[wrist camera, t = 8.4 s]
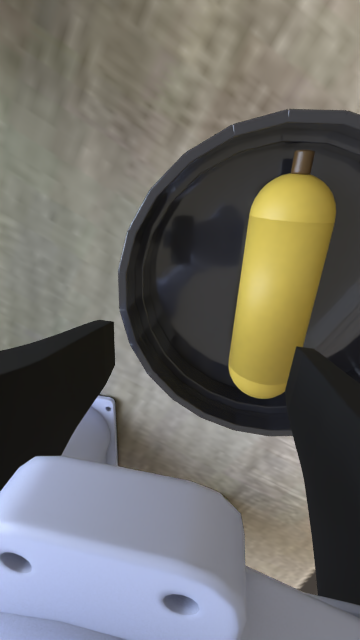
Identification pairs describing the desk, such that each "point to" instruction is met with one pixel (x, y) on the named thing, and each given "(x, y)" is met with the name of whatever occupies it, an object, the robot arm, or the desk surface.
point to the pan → (236, 261)
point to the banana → (280, 277)
